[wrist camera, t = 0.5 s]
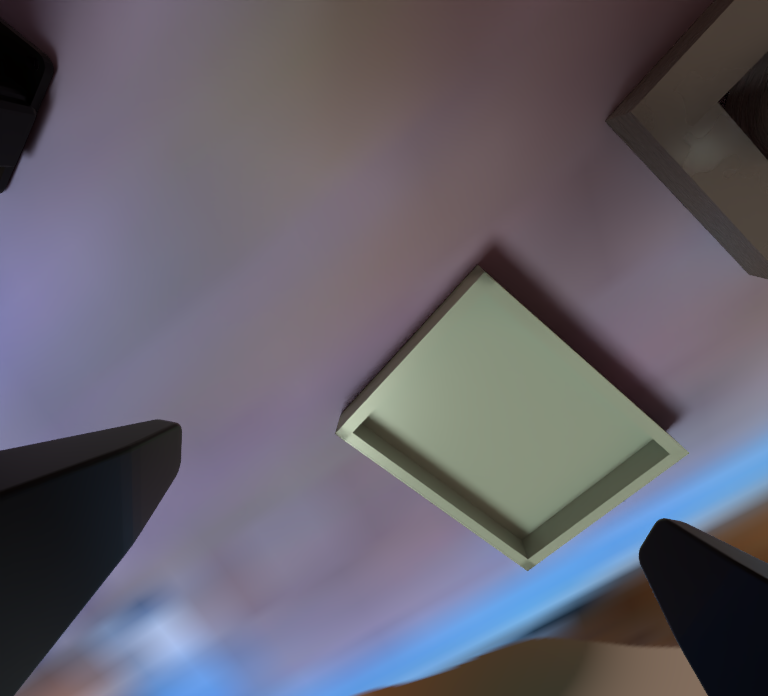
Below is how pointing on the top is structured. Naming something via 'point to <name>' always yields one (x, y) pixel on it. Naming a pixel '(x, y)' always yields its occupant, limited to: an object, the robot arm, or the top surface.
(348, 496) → the top surface
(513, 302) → the tray
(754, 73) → the pin
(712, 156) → the receiver socket
